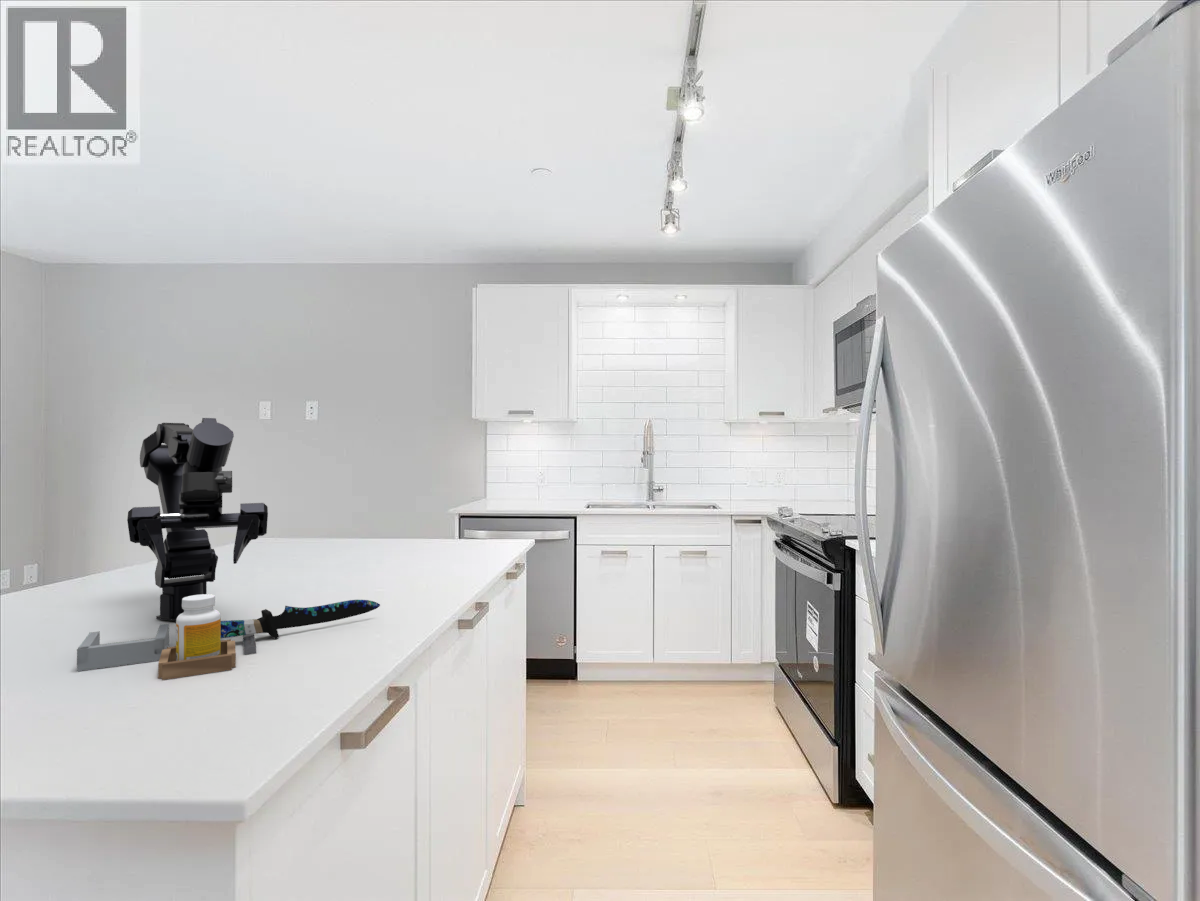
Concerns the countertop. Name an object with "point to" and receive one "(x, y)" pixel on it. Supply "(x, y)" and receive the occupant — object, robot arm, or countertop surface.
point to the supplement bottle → (198, 628)
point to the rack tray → (120, 650)
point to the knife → (296, 618)
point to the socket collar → (196, 662)
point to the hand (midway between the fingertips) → (200, 564)
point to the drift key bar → (249, 644)
